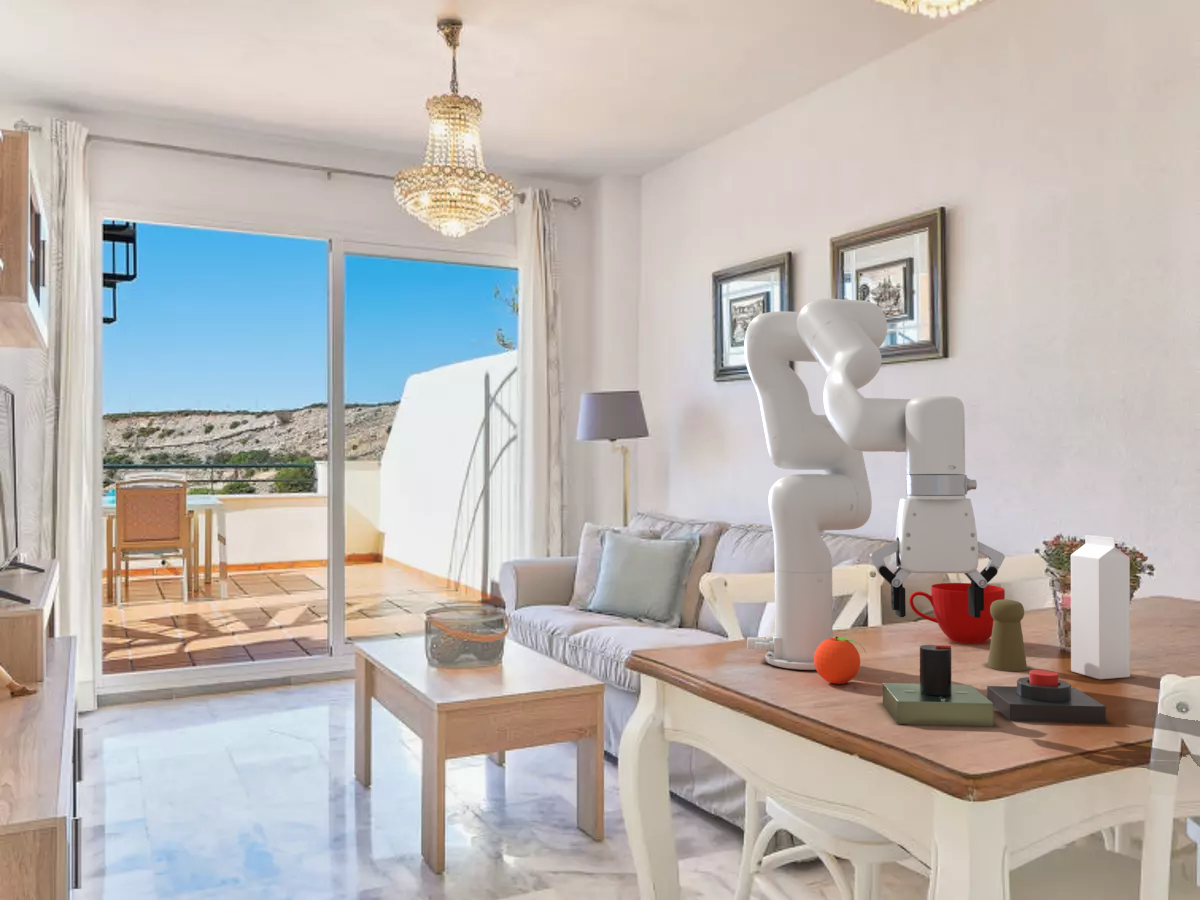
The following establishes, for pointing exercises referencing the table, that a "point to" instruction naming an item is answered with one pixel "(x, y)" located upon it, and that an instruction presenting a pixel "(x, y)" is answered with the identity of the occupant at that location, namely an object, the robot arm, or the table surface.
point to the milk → (1100, 609)
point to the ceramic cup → (960, 611)
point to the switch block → (1045, 703)
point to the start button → (1043, 677)
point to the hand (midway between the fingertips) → (937, 616)
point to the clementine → (837, 660)
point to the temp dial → (935, 670)
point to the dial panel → (937, 706)
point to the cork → (1007, 636)
